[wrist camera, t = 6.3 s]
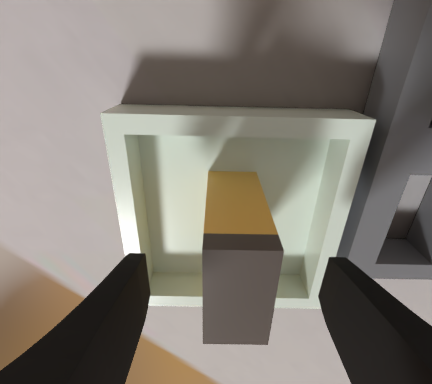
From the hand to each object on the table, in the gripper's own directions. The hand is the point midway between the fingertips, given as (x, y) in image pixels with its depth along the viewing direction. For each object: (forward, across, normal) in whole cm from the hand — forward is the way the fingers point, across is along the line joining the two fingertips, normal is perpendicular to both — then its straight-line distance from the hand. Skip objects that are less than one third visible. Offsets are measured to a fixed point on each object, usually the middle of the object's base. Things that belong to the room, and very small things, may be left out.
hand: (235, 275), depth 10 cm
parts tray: (+5, 0, 0) cm, 5 cm away
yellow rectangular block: (+5, 0, 0) cm, 5 cm away
